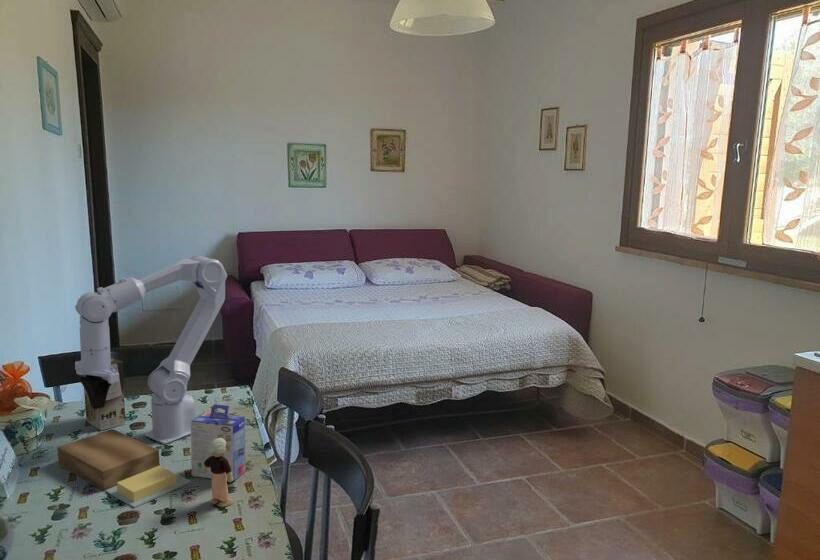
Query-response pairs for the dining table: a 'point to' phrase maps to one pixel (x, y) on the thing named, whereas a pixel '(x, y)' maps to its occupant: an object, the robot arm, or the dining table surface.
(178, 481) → the mat
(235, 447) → the ink cartridge box
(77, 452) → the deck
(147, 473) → the pale yellow foam brick
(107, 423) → the coffee box
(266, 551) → the dining table surface
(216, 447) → the grandmother figurine
